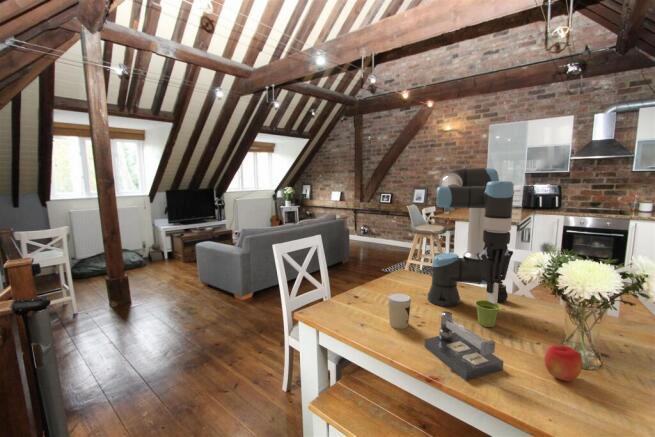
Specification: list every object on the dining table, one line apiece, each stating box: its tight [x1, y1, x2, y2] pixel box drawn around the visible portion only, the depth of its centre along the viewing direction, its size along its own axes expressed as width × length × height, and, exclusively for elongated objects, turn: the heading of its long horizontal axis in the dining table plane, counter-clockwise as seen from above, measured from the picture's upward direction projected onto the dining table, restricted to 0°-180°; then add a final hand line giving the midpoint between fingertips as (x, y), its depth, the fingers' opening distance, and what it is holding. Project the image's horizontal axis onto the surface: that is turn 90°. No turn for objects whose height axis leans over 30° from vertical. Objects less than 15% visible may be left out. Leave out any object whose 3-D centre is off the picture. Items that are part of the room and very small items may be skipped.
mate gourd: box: [497, 283, 508, 303], centre depth 151 cm, size 7×8×10 cm
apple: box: [543, 344, 583, 382], centre depth 94 cm, size 10×10×10 cm
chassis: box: [424, 327, 504, 382], centre depth 106 cm, size 15×20×6 cm
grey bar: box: [440, 310, 496, 356], centre depth 104 cm, size 21×4×6 cm, turn 20°
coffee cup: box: [387, 292, 412, 330], centre depth 129 cm, size 9×9×12 cm
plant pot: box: [474, 299, 501, 328], centre depth 128 cm, size 9×9×9 cm
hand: (491, 301), depth 100 cm, fingers closed
